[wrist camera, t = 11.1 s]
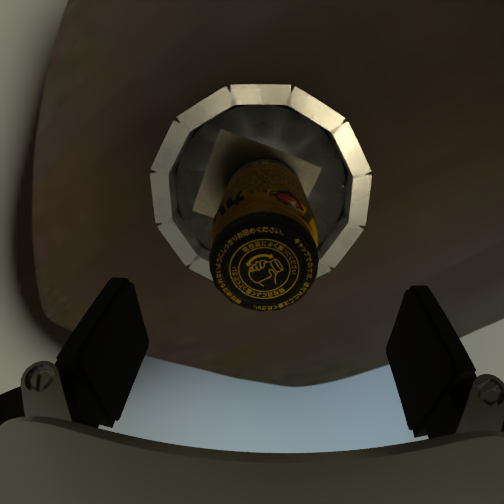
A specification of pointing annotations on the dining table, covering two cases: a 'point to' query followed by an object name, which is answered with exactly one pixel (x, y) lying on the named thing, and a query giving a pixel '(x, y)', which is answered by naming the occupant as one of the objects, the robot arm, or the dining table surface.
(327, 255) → the faceted plate
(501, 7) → the dining table surface
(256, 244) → the condiment
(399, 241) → the dining table surface
